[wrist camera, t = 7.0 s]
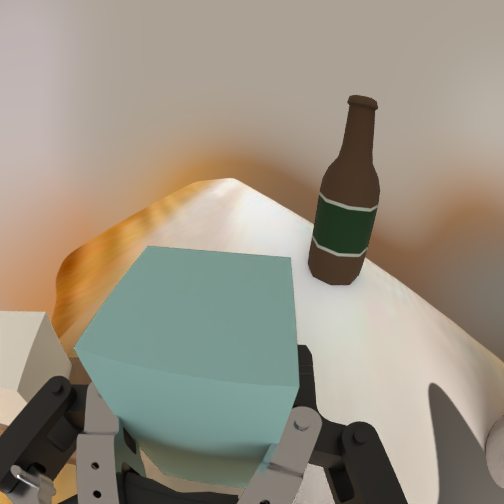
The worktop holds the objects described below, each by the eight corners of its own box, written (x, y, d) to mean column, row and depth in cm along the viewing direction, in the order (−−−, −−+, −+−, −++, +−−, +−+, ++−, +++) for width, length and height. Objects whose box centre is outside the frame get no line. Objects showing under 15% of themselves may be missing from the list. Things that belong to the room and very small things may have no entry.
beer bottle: (296, 262, 40) (318, 89, 28) (335, 254, 43) (361, 101, 32) (329, 292, 34) (366, 91, 22) (369, 279, 37) (406, 107, 25)
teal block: (263, 414, 15) (290, 257, 9) (258, 488, 10) (299, 386, 5) (182, 404, 15) (147, 245, 9) (164, 474, 10) (73, 347, 5)
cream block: (72, 364, 15) (45, 311, 13) (60, 437, 10) (17, 391, 8) (12, 359, 14) (-16, 310, 11) (-6, 421, 9) (-48, 374, 6)
